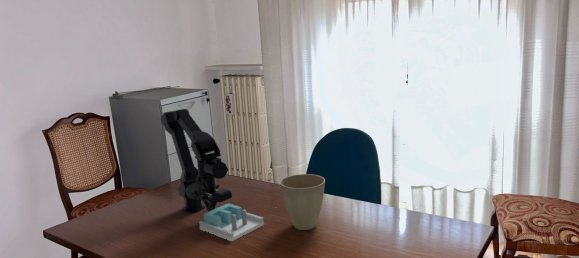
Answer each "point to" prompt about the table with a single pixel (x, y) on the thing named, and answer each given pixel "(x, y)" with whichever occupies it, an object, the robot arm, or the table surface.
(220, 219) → the teal notched block
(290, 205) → the plant pot
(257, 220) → the board
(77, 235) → the table surface
